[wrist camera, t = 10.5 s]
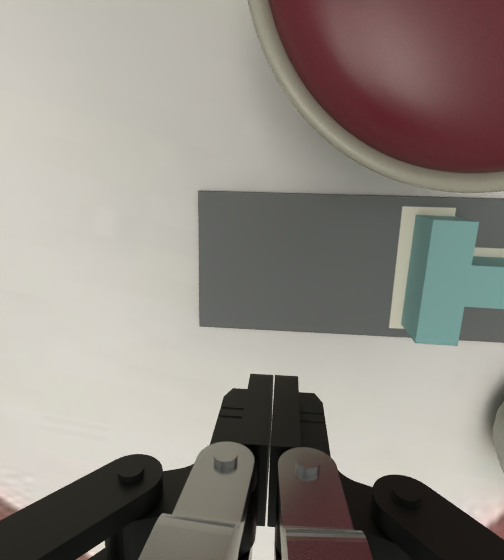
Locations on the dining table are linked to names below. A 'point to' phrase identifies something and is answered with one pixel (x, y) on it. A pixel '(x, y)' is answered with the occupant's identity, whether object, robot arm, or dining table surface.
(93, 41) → the dining table surface
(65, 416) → the dining table surface
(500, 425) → the glass bottle
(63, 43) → the dining table surface
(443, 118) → the canister
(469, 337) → the mat
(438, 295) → the t block
